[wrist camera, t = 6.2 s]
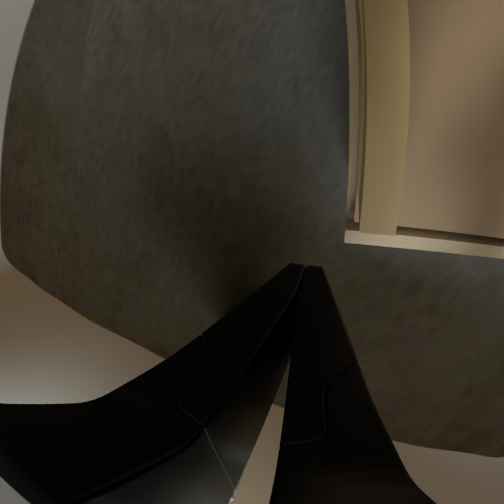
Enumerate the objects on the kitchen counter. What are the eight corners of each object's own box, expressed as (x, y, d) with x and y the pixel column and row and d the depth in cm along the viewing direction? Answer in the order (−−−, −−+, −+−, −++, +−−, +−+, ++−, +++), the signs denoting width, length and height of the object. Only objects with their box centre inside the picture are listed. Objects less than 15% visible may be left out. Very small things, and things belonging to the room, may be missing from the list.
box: (559, 34, 8) (629, 45, 3) (539, 206, 15) (587, 268, 9) (342, -18, 12) (339, -59, 6) (347, 180, 19) (344, 242, 13)
